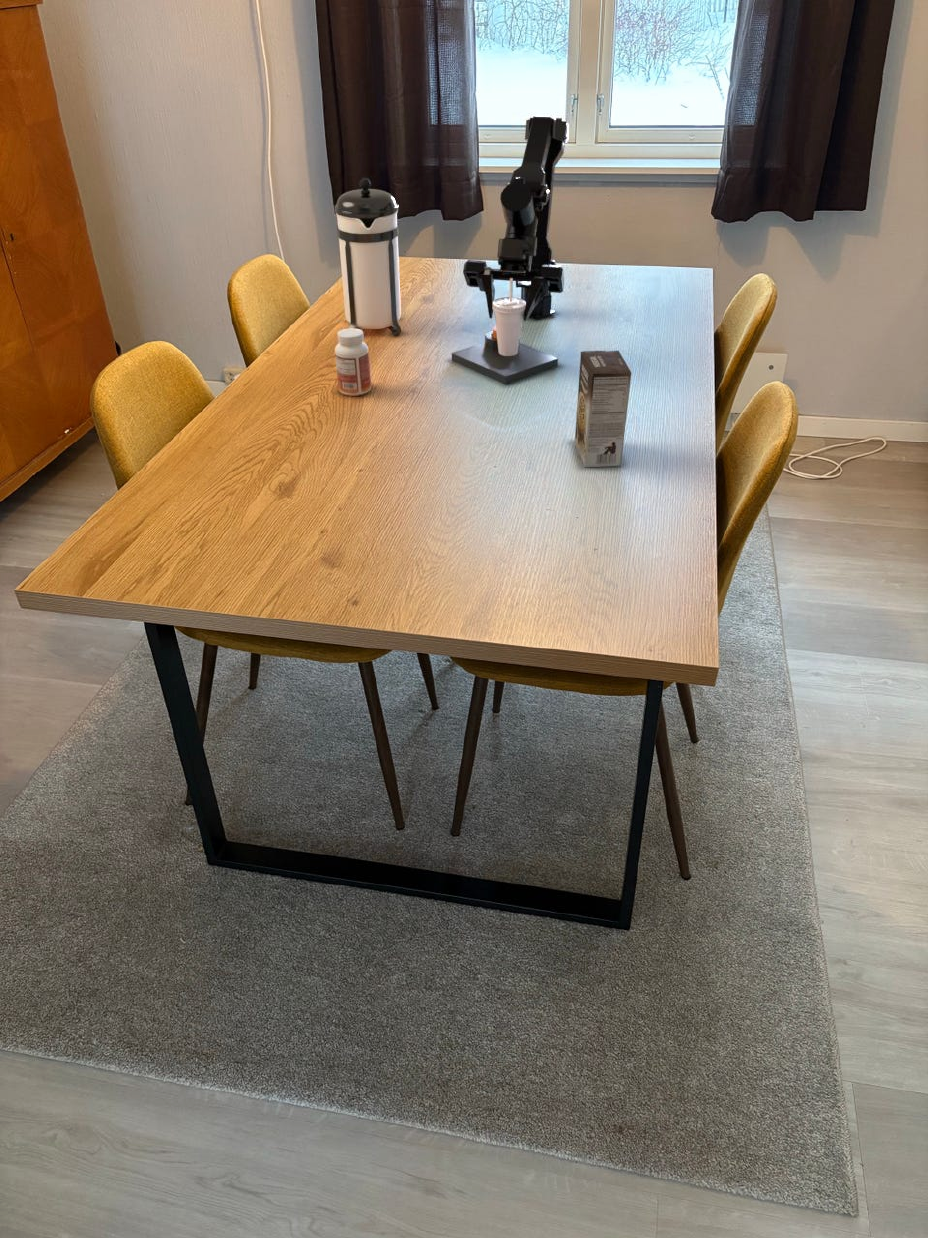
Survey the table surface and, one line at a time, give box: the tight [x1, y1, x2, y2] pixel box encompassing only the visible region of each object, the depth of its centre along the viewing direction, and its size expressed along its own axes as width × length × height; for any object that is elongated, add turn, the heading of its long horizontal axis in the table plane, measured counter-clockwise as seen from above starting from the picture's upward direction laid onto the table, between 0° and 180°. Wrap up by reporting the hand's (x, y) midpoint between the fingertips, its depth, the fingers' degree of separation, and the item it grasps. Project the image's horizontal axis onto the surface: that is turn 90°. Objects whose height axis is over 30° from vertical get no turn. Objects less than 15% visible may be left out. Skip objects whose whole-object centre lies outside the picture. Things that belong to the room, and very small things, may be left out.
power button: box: [492, 325, 497, 339], centre depth 190 cm, size 4×4×2 cm
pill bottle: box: [334, 327, 372, 397], centre depth 173 cm, size 6×6×11 cm
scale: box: [451, 329, 559, 386], centre depth 186 cm, size 16×14×4 cm
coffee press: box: [334, 177, 402, 336], centre depth 195 cm, size 17×16×30 cm
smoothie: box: [492, 278, 526, 356], centre depth 178 cm, size 6×6×14 cm
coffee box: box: [574, 350, 632, 468], centre depth 151 cm, size 9×6×16 cm
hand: (507, 318), depth 177 cm, fingers closed on smoothie, 6 cm apart
